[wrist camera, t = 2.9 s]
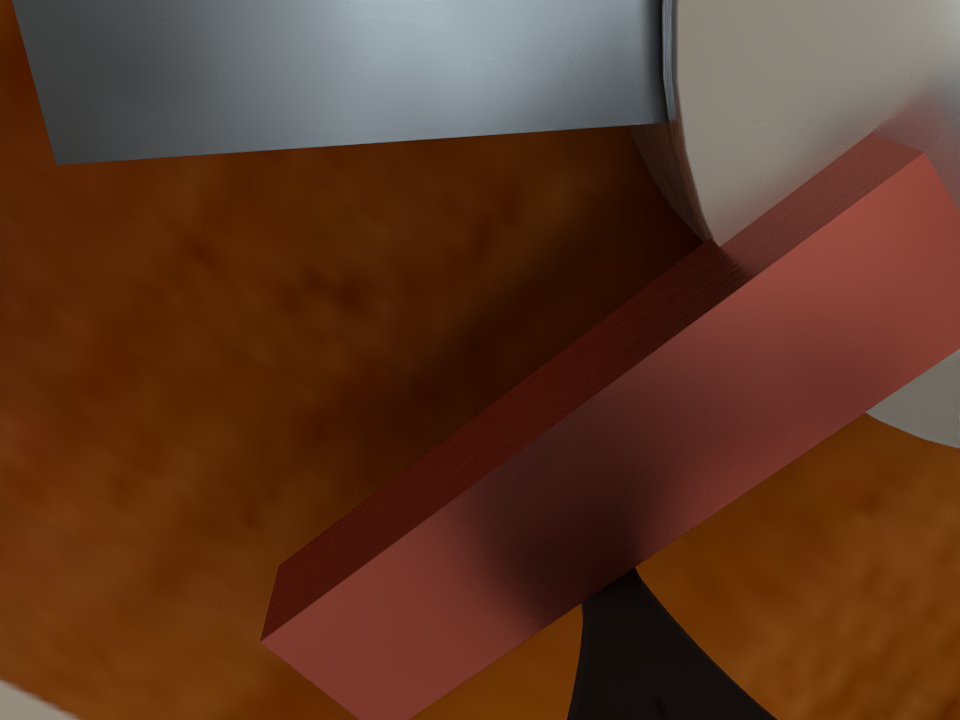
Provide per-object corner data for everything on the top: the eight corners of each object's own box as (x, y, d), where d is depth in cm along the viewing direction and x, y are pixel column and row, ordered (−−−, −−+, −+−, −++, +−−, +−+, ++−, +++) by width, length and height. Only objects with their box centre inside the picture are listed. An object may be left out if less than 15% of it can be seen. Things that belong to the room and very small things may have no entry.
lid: (1649, -1236, 7) (2102, -1686, 5) (1783, 53, 11) (2048, 66, 9) (8, 318, 11) (-73, 384, 9) (572, 792, 16) (590, 899, 14)
